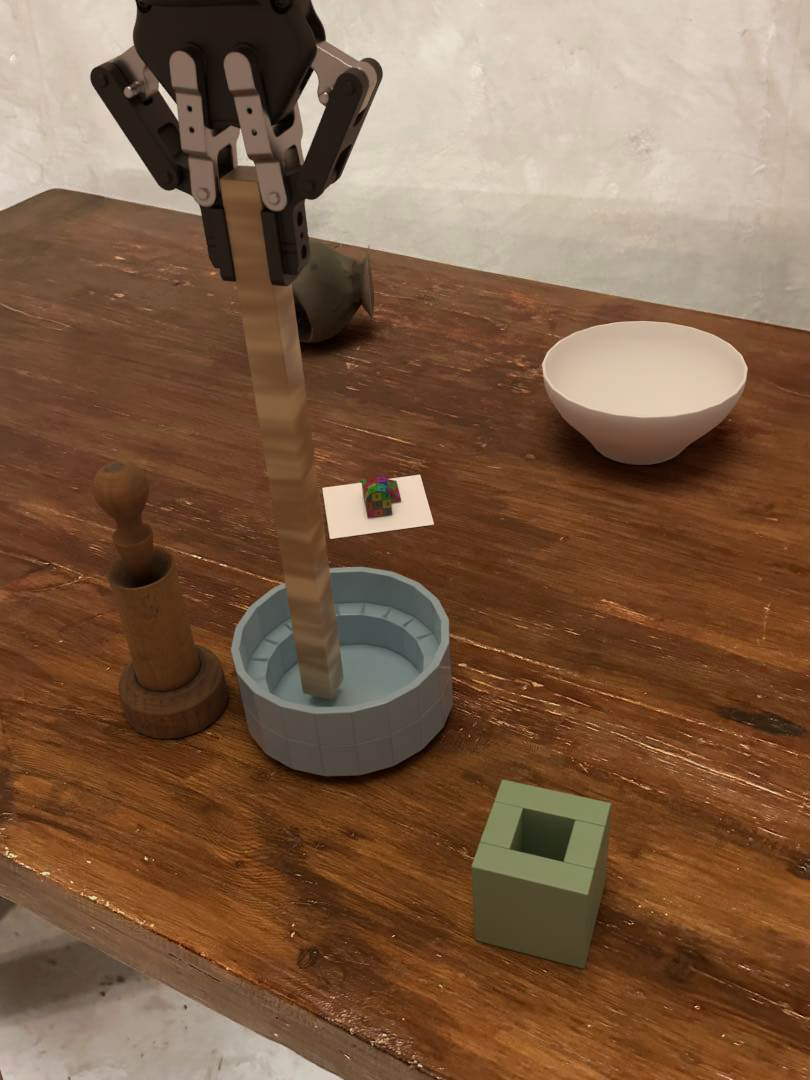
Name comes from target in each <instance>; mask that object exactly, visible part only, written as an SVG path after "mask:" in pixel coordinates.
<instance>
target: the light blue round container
mask: <svg viewBox="0 0 810 1080" xmlns="http://www.w3.org/2000/svg"><path fill="white" fill-rule="evenodd" d="M329 570H330V577H331V585H332V592H333V600H334V607H335V615H336V623H337V630H338V638H339V645H340V653H341V660H342V668H343V675H344V679H343V681H342V682H341V684H340V686H339V688H338V690H337V691H336V693H335V695H334V697H333V699H328V698H323V697H318V696H313V695H309V694H304V693H303V690H302V684H301V677H300V671H299V665H298V659H297V653H296V647H295V641H294V635H293V629H292V622H291V616H290V610H289V604H288V598H287V592H286V586H285V582H283V583H281V584H278V585H276V586H274V587H273V588H271V589H269V590H268V591H267V592H266V593H265V594H263V595H262V596H261V597H260V598H258V599H257V600H256V601H254V602H253V603H252V604H251V605H250V606H249V607H248V608H247V610H246V611H245V613H244V614H243V616H242V617H241V618H240V620H239V621H238V622H237V624H236V626H235V628H234V632H233V638H232V643H231V647H230V654H231V659H232V664H233V667H234V672H235V677H236V681H237V687H238V692H239V696H240V700H241V701H240V702H241V705H242V709H243V714H244V718H245V723H246V726H247V730H248V733H249V735H250V736H251V738H252V739H253V740H254V741H255V743H256V744H257V745H258V746H259V747H260V749H261V750H262V751H263V752H264V754H265V755H267V756H268V757H270V758H272V759H273V760H275V761H277V762H279V763H281V764H282V765H284V766H286V767H288V768H290V769H292V770H295V771H300V772H305V773H309V774H313V775H318V776H320V777H321V776H322V777H349V776H350V777H354V776H355V777H356V776H363V775H366V774H370V773H375V772H377V771H381V770H384V769H389V768H392V767H394V766H396V765H398V764H400V763H402V762H403V761H405V760H407V759H408V758H410V757H412V756H414V755H416V754H418V753H419V752H421V751H422V750H423V749H424V748H425V747H426V746H427V745H428V744H429V743H430V742H431V741H432V740H433V739H434V738H435V737H436V736H437V735H438V734H439V733H440V732H441V731H442V729H444V727H445V724H446V722H447V720H448V717H449V715H450V712H451V710H452V708H453V706H454V686H453V685H454V684H453V681H454V680H453V664H452V645H451V631H450V630H451V628H450V627H451V626H450V618H449V617H448V614H447V613H446V610H445V609H444V607H443V605H442V604H441V601H440V599H438V597H437V596H436V595H434V594H433V593H432V592H431V591H429V589H427V588H426V587H425V586H424V585H422V584H421V583H420V582H418V581H416V580H414V579H411V578H409V577H406V576H404V575H402V574H400V573H397V572H395V571H392V570H385V569H378V568H372V567H366V566H347V567H331V568H330V567H329Z"/></svg>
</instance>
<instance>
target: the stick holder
mask: <svg viewBox="0 0 810 1080" xmlns="http://www.w3.org/2000/svg"><path fill="white" fill-rule="evenodd" d="M611 812H612V803H611V802H608V801H604V800H600V799H599V800H598V799H594V798H590V797H587V796H586V797H585V796H581V795H577V794H571V793H566V792H563V791H559V790H553V789H549V788H544V787H540V786H536V785H535V786H534V785H530V784H526V783H522V782H521V783H520V782H517V781H512V780H507V779H501V782H500V784H499V787H498V790H497V793H496V795H495V798H494V802H493V804H492V806H491V809H490V812H489V816H488V818H487V821H486V823H485V826H484V829H483V833H482V836H481V838H480V841H479V843H478V846H477V848H476V852H475V854H474V858H473V859H472V863H471V866H470V867H471V869H470V870H471V888H472V891H471V892H472V907H473V928H474V929H473V930H474V941H476V942H480V943H484V944H488V945H491V946H496V947H499V948H503V949H506V950H511V951H514V952H519V953H521V954H526V955H530V956H534V957H537V958H541V959H543V960H544V959H545V960H548V961H553V962H556V963H559V964H564V965H567V966H570V967H571V966H572V967H575V968H579V969H582V970H584V969H585V968H586V964H587V960H588V955H589V951H590V947H591V942H592V939H593V935H594V931H595V926H596V922H597V918H598V914H599V910H600V906H601V900H602V898H603V893H604V890H605V884H606V881H607V874H608V857H609V844H610V843H609V842H610V828H611V827H610V826H611Z"/></svg>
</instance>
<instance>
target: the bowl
mask: <svg viewBox="0 0 810 1080" xmlns="http://www.w3.org/2000/svg"><path fill="white" fill-rule="evenodd" d="M541 370H542V376H543V385H544V389H545V392H546V394H547V396H548V398H549V401H551V403H552V404H553V406H554V407H555V408H556V410H557V412H558V413H559V415H560V416H561V417H562V419H564V421H565V422H566V423H567V424H568V425H569V426H570V427H572V428H574V429H575V430H576V431H577V432H578V433H580V435H582V436H583V437H584V438H585V439H586V440H587V441H588V442H589V443H590V444H591V445H592V446H593V447H594V449H595V450H596V451H597V452H598V453H600V454H601V455H602V456H603V457H605V458H607V459H609V460H612V461H615V462H616V463H617V462H618V463H621V464H626V465H634V466H648V465H649V466H650V465H655V464H661V463H664V462H667V461H670V460H671V459H674V458H675V457H677V456H678V455H680V454H681V453H682V452H683V451H684V450H686V448H687V447H689V445H691V444H692V443H694V442H696V441H697V440H698V439H700V438H701V437H703V436H705V435H706V434H708V433H709V432H711V431H712V430H713V429H714V428H716V427H717V426H718V425H720V424H721V423H722V422H723V421H724V420H725V419H726V418H727V417H728V415H729V414H730V413H731V412H732V411H733V409H734V407H735V406H736V405H737V404H738V402H739V400H740V399H741V397H742V395H743V394H744V390H745V387H746V383H747V377H748V370H749V367H748V366H747V364H746V361H745V359H744V357H743V355H742V354H741V353H740V351H738V350H737V349H736V348H735V347H734V346H733V345H732V344H731V343H729V342H728V341H725V340H724V339H722V338H720V337H719V336H717V335H715V334H713V333H710V332H707V331H704V330H702V329H698V328H695V327H692V326H687V325H681V324H678V323H677V324H676V323H672V322H662V321H651V320H650V321H649V320H648V321H647V320H636V321H635V320H632V321H617V322H611V323H605V324H600V325H599V324H598V325H594V326H591V327H587V328H584V329H581V330H578V331H575V332H573V333H571V334H569V335H567V336H565V337H564V338H562V339H560V340H558V341H557V342H556V343H555V344H554V345H553V346H552V347H551V348H550V349H548V351H547V352H546V354H545V356H544V359H543V361H542V363H541Z"/></svg>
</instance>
